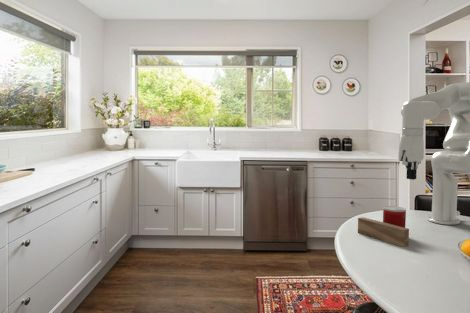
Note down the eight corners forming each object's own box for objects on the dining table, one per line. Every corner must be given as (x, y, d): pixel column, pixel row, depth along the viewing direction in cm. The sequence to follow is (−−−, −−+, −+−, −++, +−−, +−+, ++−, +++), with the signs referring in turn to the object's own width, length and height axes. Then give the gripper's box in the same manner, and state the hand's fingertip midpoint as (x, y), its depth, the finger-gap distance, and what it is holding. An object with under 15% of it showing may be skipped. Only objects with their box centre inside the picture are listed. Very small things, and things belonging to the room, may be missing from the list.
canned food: (407, 239, 136) (408, 210, 135) (384, 238, 138) (385, 209, 137) (402, 233, 143) (403, 206, 143) (381, 232, 145) (381, 205, 144)
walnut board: (362, 231, 146) (363, 217, 146) (408, 245, 129) (409, 228, 129) (357, 232, 145) (358, 218, 144) (403, 246, 128) (403, 230, 127)
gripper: (415, 132, 150) (413, 176, 151) (392, 133, 142) (391, 179, 144) (433, 132, 143) (431, 178, 145) (409, 133, 135) (408, 182, 137)
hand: (411, 179), depth 144 cm, fingers closed
